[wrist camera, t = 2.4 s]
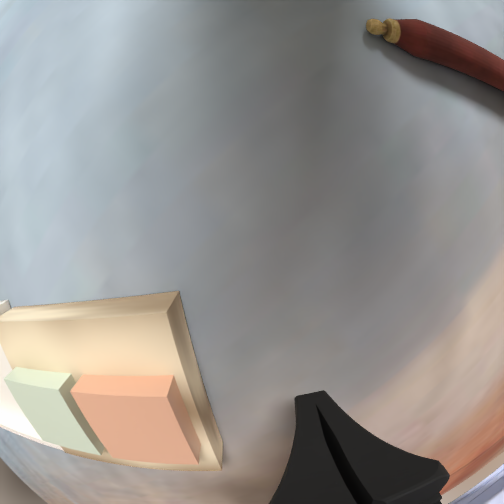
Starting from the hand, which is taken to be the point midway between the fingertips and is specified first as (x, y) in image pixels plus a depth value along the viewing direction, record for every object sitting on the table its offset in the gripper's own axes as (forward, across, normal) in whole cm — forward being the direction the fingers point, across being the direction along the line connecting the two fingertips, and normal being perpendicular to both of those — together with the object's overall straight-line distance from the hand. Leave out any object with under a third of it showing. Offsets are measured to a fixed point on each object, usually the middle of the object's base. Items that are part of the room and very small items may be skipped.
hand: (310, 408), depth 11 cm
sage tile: (+1, +14, 0) cm, 14 cm away
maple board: (+3, +11, 0) cm, 12 cm away
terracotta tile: (+1, +8, 0) cm, 8 cm away
